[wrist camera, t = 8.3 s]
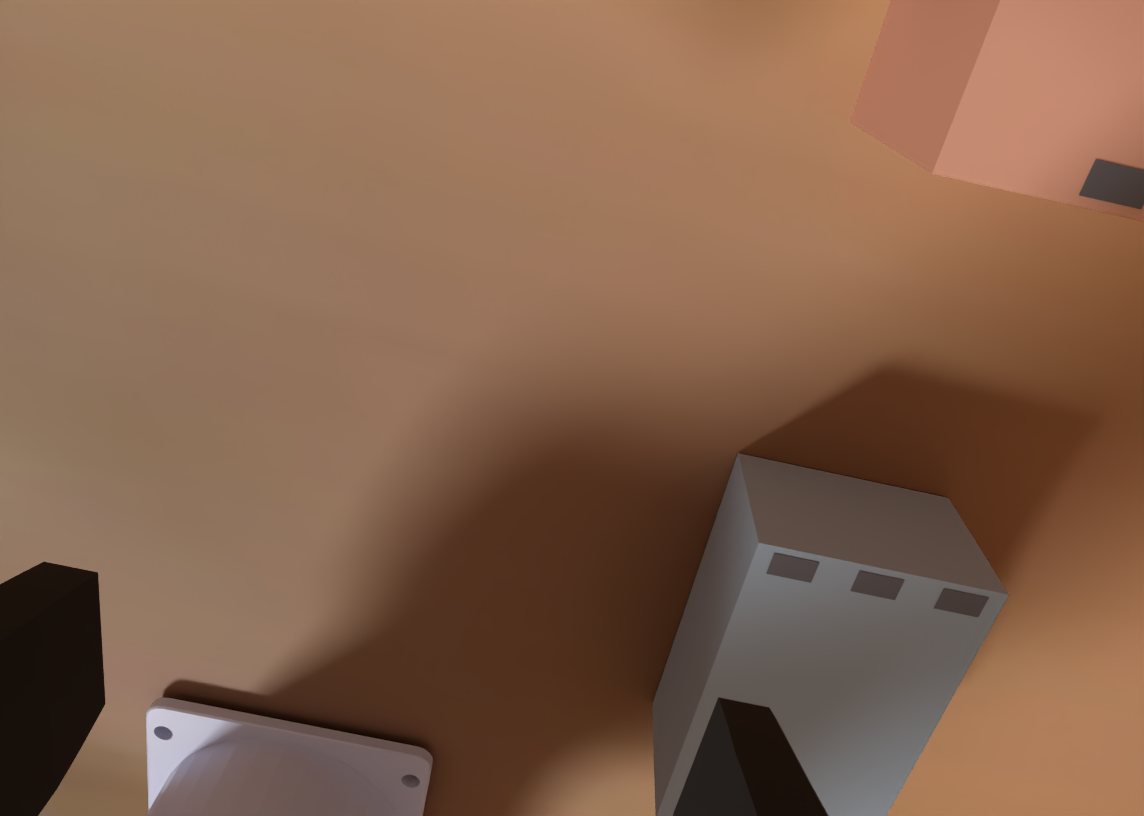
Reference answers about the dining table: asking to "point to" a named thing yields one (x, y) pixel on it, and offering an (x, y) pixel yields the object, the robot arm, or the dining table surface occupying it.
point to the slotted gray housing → (826, 628)
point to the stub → (1015, 96)
